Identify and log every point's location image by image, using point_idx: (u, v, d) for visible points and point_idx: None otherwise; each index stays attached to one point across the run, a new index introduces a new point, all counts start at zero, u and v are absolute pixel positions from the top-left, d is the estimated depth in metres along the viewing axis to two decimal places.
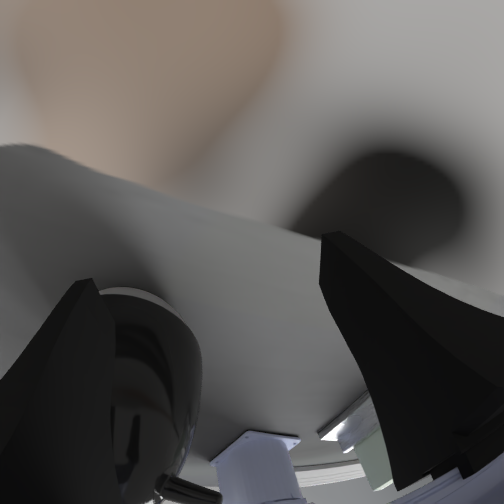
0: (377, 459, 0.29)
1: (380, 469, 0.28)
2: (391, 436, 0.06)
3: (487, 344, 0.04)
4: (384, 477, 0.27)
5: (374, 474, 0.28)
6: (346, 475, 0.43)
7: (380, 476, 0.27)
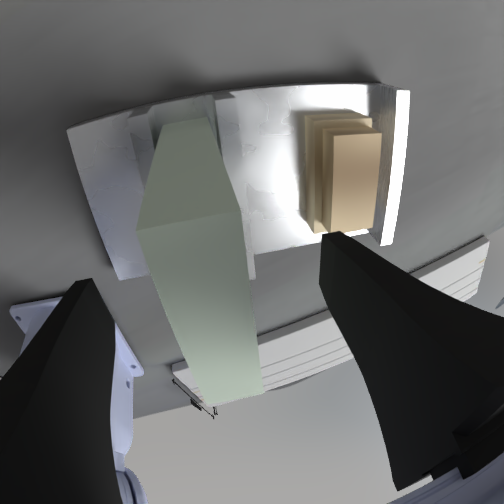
0: None
1: None
2: (391, 436, 0.06)
3: (487, 345, 0.04)
4: None
5: None
6: None
7: None
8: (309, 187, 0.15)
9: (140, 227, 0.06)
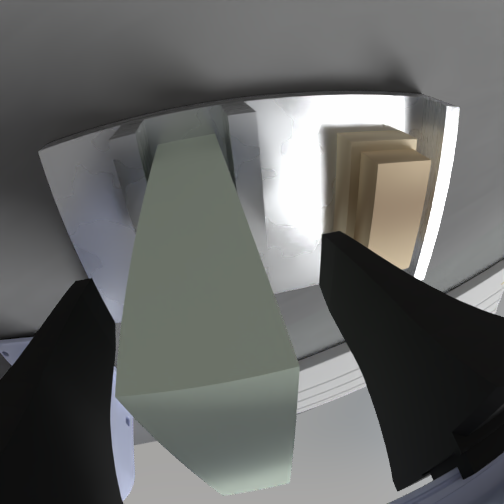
0: None
1: None
2: (391, 436, 0.06)
3: (487, 345, 0.04)
4: None
5: None
6: None
7: None
8: (339, 220, 0.13)
9: (122, 389, 0.03)
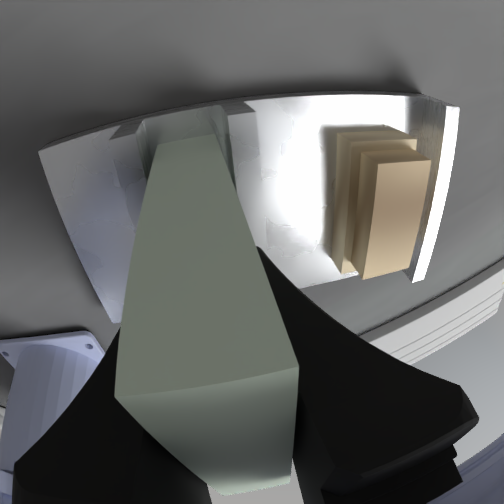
0: None
1: None
2: (297, 468, 0.06)
3: (362, 402, 0.04)
4: None
5: None
6: None
7: None
8: (339, 220, 0.13)
9: (121, 389, 0.03)
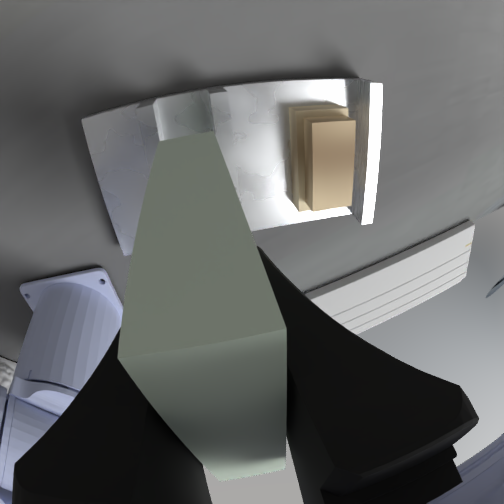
0: None
1: None
2: (297, 468, 0.06)
3: (361, 402, 0.04)
4: None
5: None
6: (363, 313, 0.28)
7: None
8: (294, 169, 0.17)
9: (124, 351, 0.03)
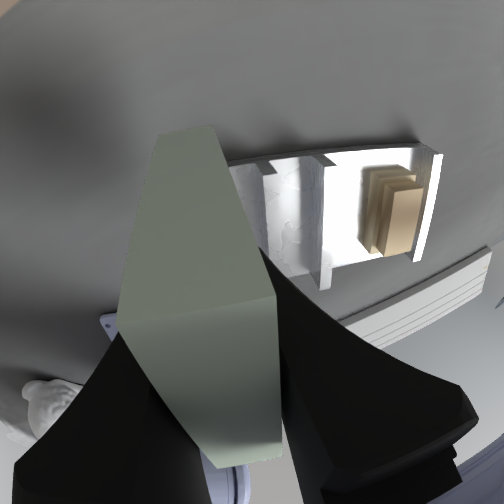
0: None
1: None
2: (297, 468, 0.06)
3: (361, 402, 0.04)
4: None
5: None
6: (399, 327, 0.31)
7: None
8: (369, 221, 0.21)
9: (122, 318, 0.04)
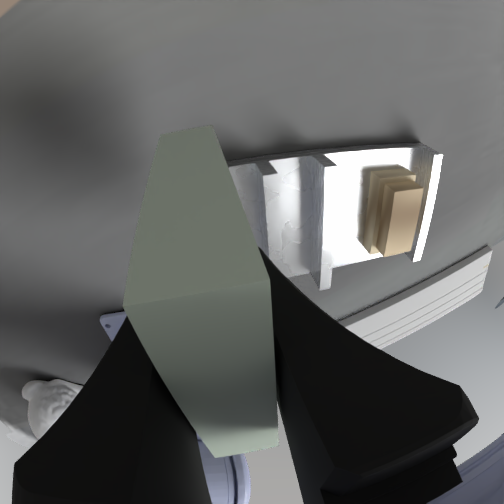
0: None
1: None
2: (297, 468, 0.06)
3: (361, 402, 0.04)
4: None
5: None
6: (400, 327, 0.31)
7: None
8: (369, 221, 0.21)
9: (129, 300, 0.04)
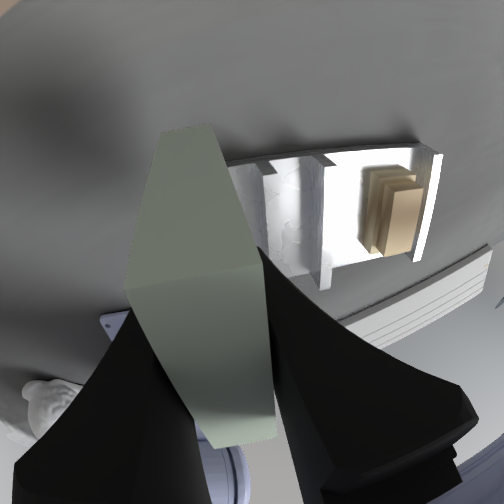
0: None
1: None
2: (297, 468, 0.06)
3: (361, 402, 0.04)
4: None
5: None
6: (400, 326, 0.31)
7: None
8: (369, 221, 0.21)
9: (129, 284, 0.04)
